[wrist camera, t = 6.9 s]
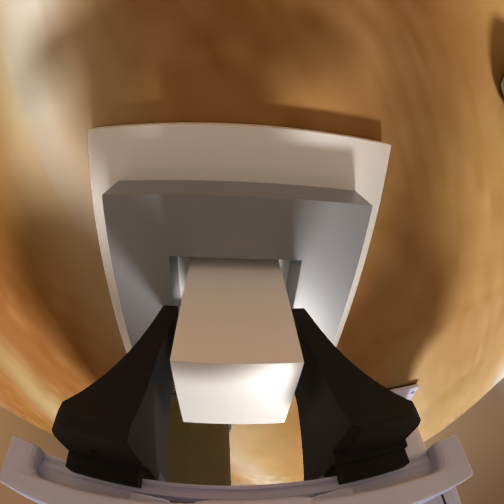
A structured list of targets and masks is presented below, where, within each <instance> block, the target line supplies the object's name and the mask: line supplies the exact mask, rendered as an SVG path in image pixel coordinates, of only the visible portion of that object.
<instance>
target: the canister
mask: <svg viewBox="0 0 504 504" xmlns="http://www.w3.org/2000/svg"><path fill="white" fill-rule="evenodd" d="M230 430H231V424H211V423H192V422H183V419H182V415H181V410H180V406H179V402H178V397H177V394H172V398H171V405H170V416H169V433H168V482H171V483H181V484H194V485H216V486H231V474H230V447H229V432H230ZM169 501H170V503H193V502H181V501H171V500H169Z"/></svg>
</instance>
